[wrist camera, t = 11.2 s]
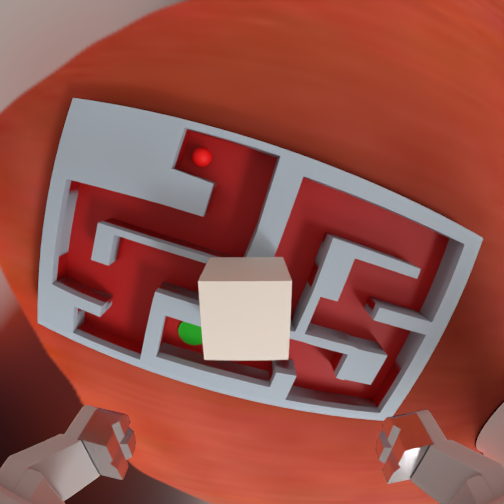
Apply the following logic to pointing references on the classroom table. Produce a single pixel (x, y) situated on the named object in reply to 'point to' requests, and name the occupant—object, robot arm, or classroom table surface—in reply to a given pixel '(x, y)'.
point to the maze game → (243, 245)
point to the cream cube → (245, 308)
